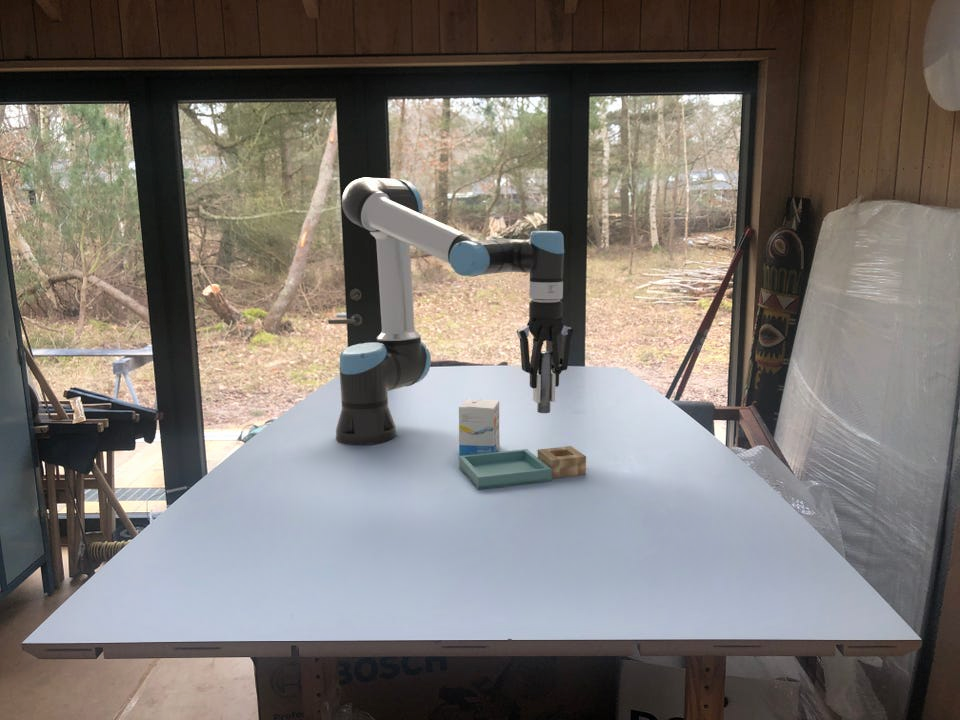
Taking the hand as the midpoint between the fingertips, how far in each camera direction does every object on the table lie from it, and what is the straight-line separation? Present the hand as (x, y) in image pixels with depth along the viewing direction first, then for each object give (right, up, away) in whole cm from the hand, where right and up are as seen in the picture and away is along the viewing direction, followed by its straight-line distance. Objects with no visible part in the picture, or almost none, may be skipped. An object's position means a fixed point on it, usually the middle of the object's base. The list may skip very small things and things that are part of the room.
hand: (543, 400), depth 176 cm
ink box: (-15, -12, +5) cm, 20 cm away
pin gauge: (0, -3, 0) cm, 3 cm away
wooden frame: (+3, -15, -11) cm, 18 cm away
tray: (-10, -15, -12) cm, 22 cm away
